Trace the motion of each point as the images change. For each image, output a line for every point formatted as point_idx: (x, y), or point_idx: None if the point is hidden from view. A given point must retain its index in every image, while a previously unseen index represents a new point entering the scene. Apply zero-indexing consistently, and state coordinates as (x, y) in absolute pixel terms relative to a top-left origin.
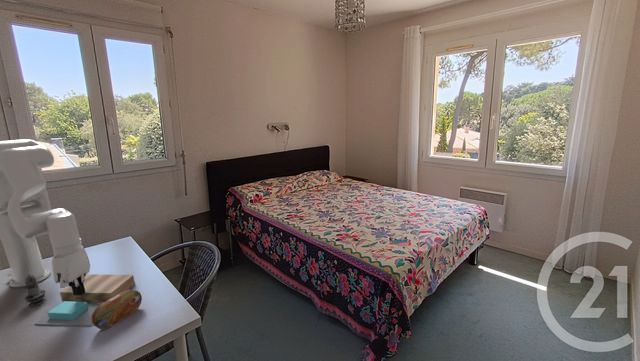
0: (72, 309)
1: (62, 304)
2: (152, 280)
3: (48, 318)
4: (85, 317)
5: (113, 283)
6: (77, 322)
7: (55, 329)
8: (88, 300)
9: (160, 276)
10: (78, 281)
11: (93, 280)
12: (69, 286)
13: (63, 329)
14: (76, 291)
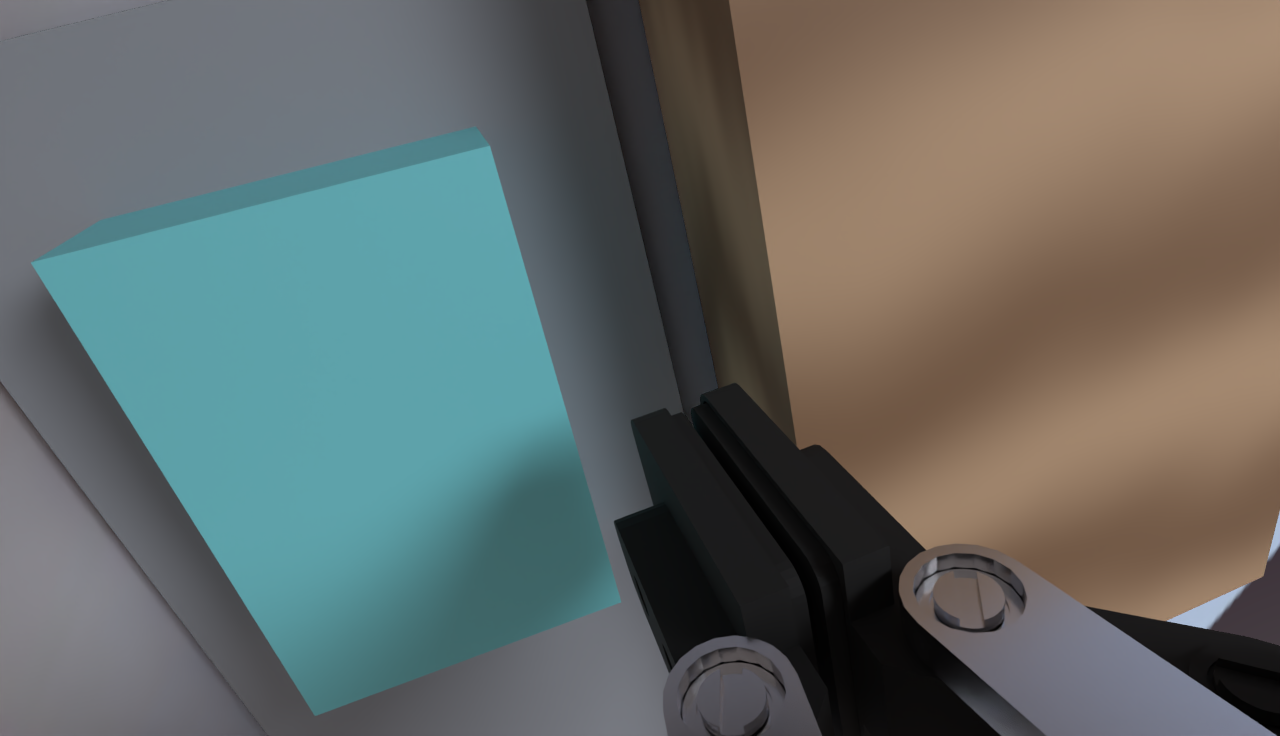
0: (391, 610)
1: (393, 258)
2: None
3: (91, 196)
4: (438, 700)
5: (1071, 558)
6: (324, 724)
7: (70, 597)
8: (722, 362)
9: (1229, 599)
10: (929, 734)
11: (1199, 70)
12: (668, 677)
13: (150, 686)
14: (659, 649)
